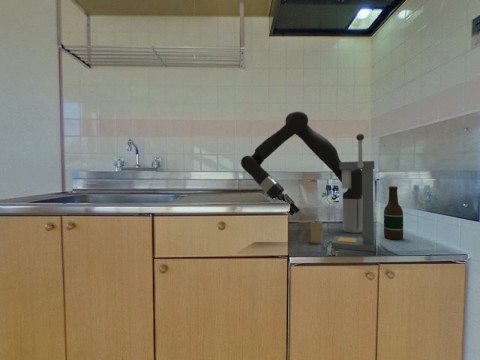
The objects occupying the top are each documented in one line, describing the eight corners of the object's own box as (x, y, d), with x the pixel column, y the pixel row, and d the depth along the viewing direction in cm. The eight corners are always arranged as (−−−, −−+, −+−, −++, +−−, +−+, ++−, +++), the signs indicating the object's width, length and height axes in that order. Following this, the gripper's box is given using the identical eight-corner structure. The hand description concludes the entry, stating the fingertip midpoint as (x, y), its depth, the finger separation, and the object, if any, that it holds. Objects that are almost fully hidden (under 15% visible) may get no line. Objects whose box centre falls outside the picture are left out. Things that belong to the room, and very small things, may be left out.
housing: (312, 240, 121) (312, 218, 121) (322, 241, 119) (322, 219, 119) (310, 243, 117) (310, 219, 117) (321, 244, 115) (320, 220, 115)
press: (335, 240, 121) (334, 139, 120) (374, 243, 114) (373, 136, 113) (331, 247, 109) (330, 135, 108) (375, 251, 102) (374, 131, 101)
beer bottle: (392, 240, 119) (392, 186, 118) (380, 236, 126) (379, 186, 126) (407, 239, 120) (407, 186, 120) (394, 235, 128) (393, 186, 127)
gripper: (272, 182, 119) (297, 209, 114) (281, 181, 132) (305, 205, 127) (261, 194, 121) (286, 220, 116) (271, 192, 134) (294, 216, 129)
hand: (296, 212), depth 122 cm, fingers open, 8 cm apart
